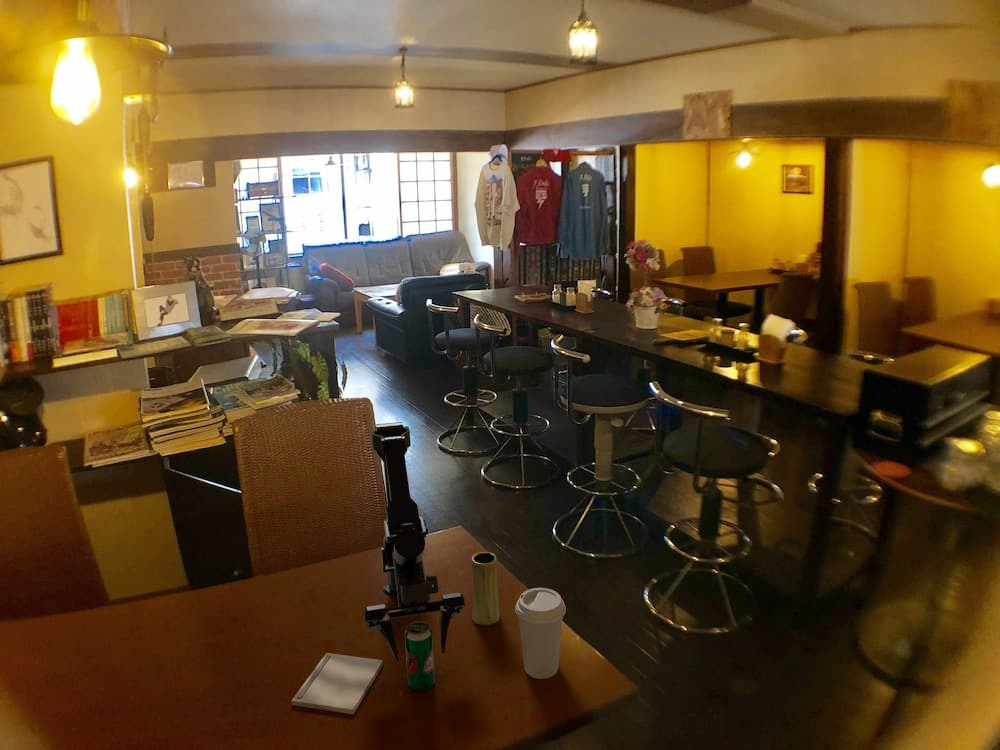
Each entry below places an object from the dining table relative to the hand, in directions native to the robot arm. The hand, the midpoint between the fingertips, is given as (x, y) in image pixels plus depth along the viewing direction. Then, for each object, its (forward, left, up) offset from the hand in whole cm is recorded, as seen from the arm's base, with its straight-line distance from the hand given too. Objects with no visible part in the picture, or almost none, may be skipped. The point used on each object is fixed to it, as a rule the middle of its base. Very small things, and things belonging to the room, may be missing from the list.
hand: (420, 657), depth 135 cm
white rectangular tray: (-12, -10, -7) cm, 17 cm away
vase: (-8, +24, -7) cm, 26 cm away
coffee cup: (+12, +20, -7) cm, 24 cm away
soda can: (-1, +1, -7) cm, 7 cm away
